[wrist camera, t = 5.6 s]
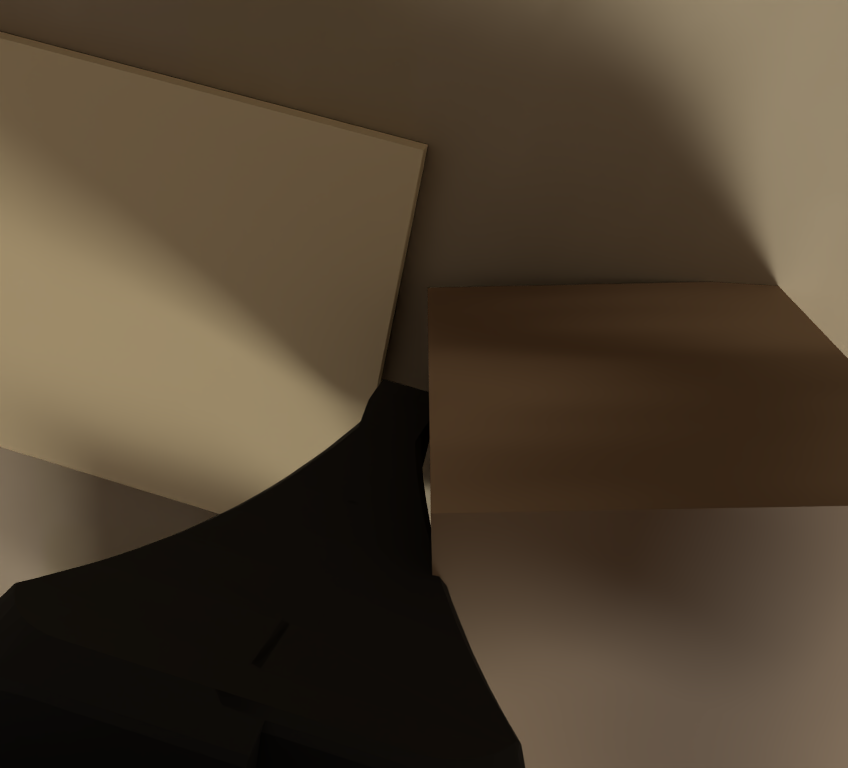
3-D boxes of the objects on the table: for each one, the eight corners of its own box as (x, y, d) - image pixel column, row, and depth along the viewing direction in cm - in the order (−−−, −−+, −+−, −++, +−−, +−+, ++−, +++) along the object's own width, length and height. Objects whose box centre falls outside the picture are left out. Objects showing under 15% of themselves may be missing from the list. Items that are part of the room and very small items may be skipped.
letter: (-199, 374, 16) (-212, 382, 16) (-324, -55, 12) (-344, -54, 12) (348, 542, 16) (343, 552, 15) (428, 144, 11) (423, 150, 11)
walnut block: (432, 546, 14) (437, 826, 10) (428, 287, 11) (430, 514, 7) (714, 541, 14) (845, 821, 10) (773, 280, 11) (985, 503, 7)
